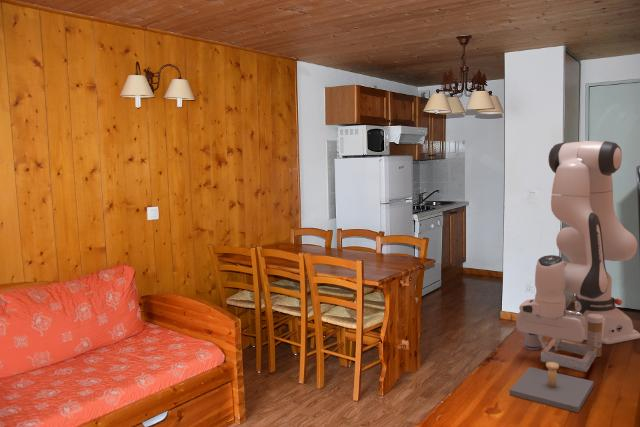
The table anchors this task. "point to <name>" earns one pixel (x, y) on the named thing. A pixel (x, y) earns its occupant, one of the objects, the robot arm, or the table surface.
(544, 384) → the keeper board
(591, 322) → the sprinkles bottle
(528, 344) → the energy drink
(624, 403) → the table surface
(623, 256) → the robot arm
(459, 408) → the table surface
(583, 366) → the ring link
